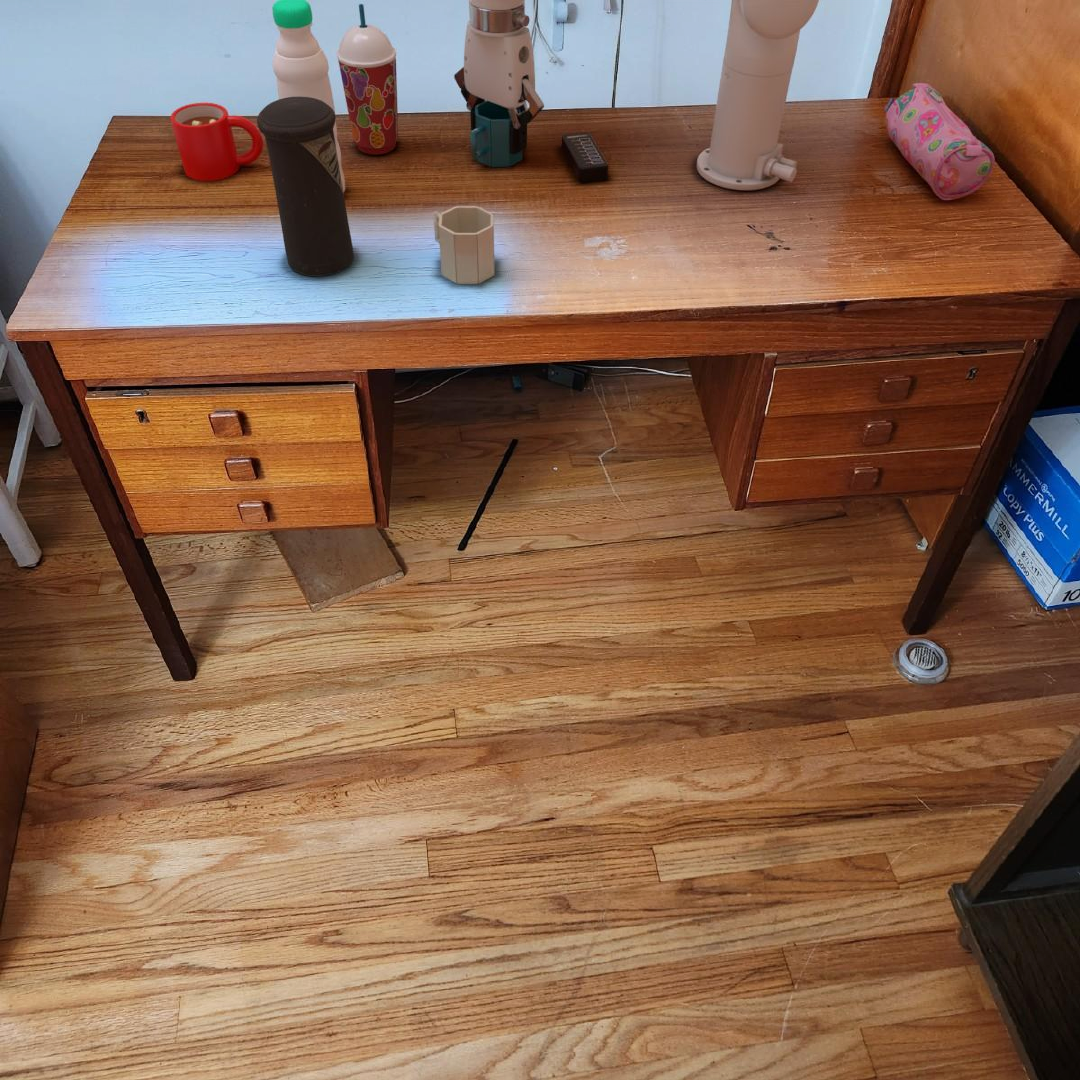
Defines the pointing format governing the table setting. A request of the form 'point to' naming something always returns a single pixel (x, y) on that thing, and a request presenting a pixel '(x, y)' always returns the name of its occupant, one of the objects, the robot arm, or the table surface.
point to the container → (307, 184)
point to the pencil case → (937, 143)
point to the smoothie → (370, 87)
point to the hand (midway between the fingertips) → (498, 142)
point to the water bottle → (301, 59)
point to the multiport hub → (584, 157)
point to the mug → (211, 141)
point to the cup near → (465, 244)
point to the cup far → (493, 136)
